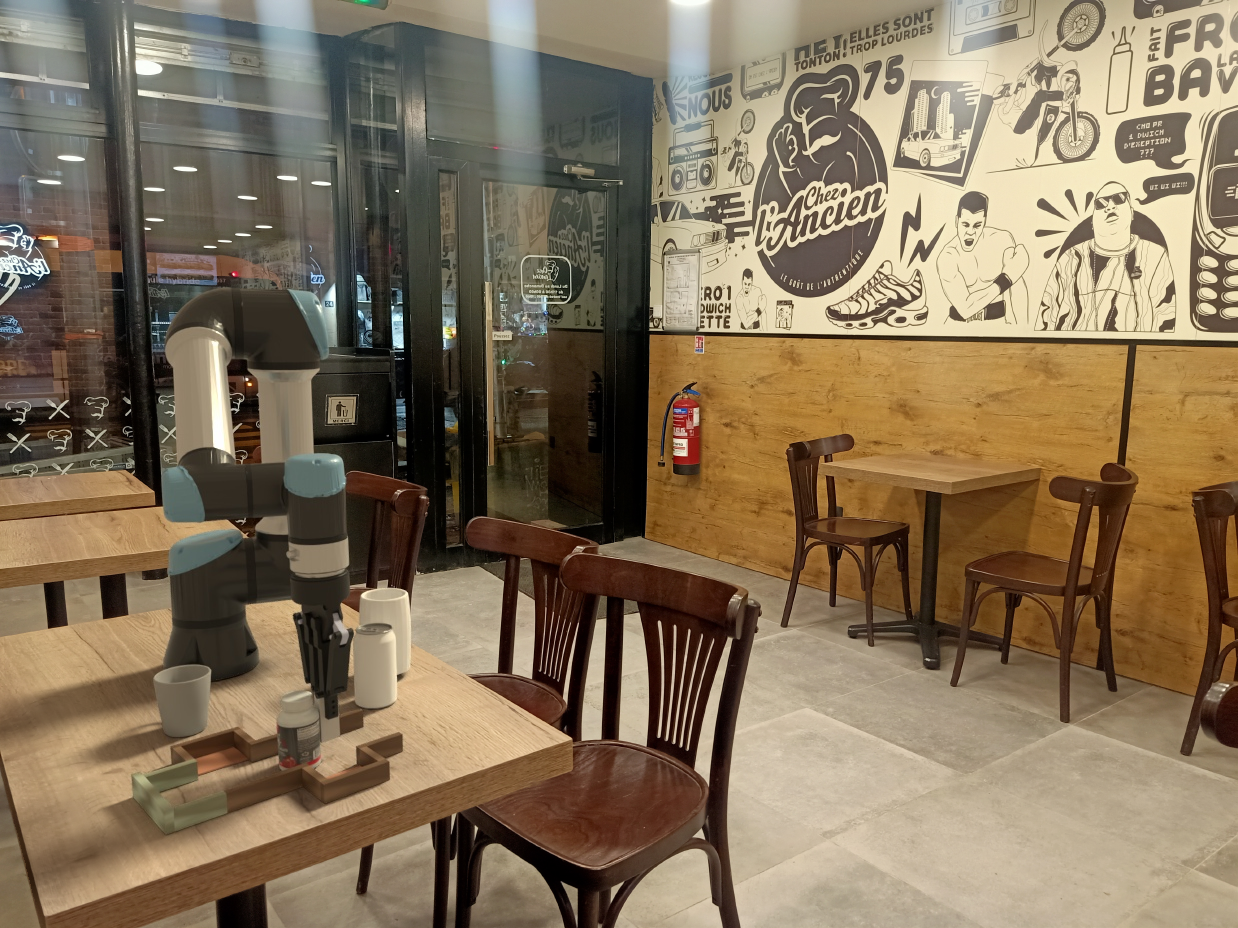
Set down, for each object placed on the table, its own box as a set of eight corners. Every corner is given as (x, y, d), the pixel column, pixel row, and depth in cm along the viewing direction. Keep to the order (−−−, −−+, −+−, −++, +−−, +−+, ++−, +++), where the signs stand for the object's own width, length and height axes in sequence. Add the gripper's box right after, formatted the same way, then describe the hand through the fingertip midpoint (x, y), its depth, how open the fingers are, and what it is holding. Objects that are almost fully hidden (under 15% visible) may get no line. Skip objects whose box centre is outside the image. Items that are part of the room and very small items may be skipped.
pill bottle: (270, 766, 121) (266, 696, 119) (306, 751, 125) (302, 684, 124) (293, 778, 118) (290, 707, 116) (329, 763, 122) (326, 694, 120)
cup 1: (158, 745, 127) (154, 687, 126) (154, 719, 136) (150, 664, 134) (217, 733, 131) (214, 677, 130) (209, 709, 139) (206, 656, 138)
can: (386, 711, 139) (383, 636, 137) (347, 707, 140) (344, 633, 138) (404, 695, 145) (402, 623, 143) (367, 692, 146) (364, 620, 145)
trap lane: (118, 779, 117) (116, 757, 117) (340, 712, 138) (340, 693, 138) (184, 856, 100) (182, 830, 100) (426, 765, 121) (426, 744, 121)
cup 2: (421, 669, 156) (419, 590, 154) (394, 687, 149) (392, 603, 147) (379, 663, 159) (376, 585, 157) (350, 680, 151) (347, 598, 149)
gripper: (271, 566, 123) (280, 731, 126) (316, 585, 113) (325, 762, 117) (323, 557, 128) (331, 715, 131) (370, 574, 119) (377, 744, 122)
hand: (328, 737), depth 124 cm, fingers closed
